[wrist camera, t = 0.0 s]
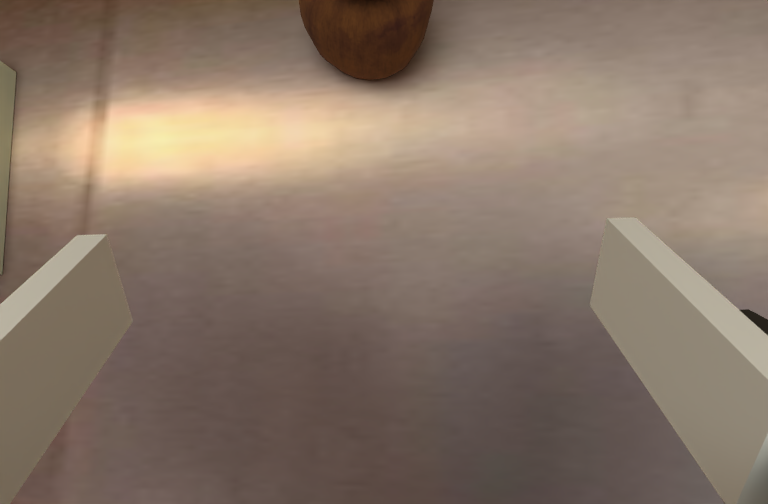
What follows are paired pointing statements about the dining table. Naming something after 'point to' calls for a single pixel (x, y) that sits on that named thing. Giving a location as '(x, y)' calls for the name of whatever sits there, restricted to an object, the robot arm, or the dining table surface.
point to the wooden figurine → (367, 33)
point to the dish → (5, 144)
